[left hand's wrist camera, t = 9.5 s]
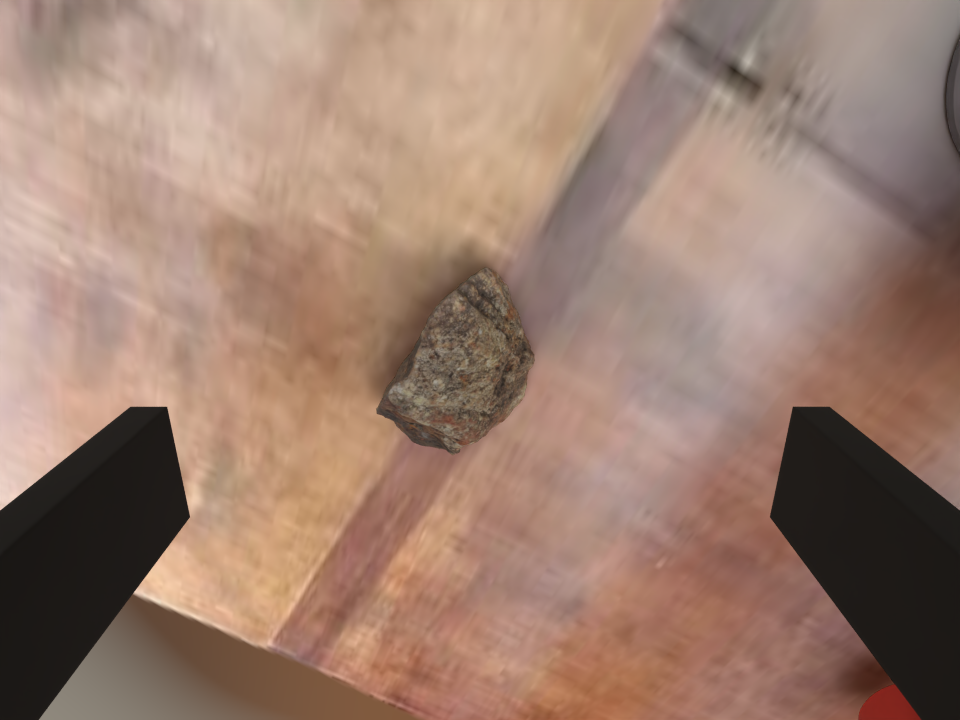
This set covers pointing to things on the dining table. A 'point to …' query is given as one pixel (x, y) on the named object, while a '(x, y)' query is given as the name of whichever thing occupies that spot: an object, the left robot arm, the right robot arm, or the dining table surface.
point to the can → (887, 706)
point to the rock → (462, 368)
